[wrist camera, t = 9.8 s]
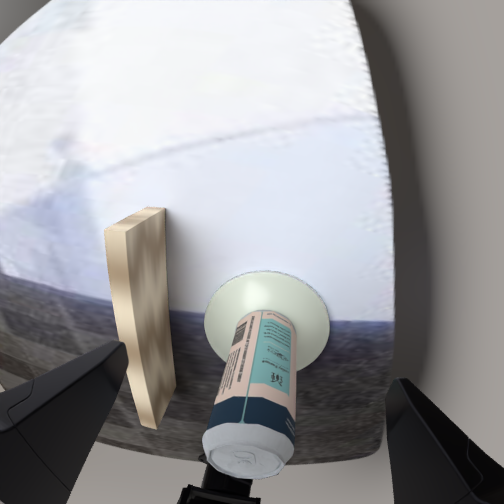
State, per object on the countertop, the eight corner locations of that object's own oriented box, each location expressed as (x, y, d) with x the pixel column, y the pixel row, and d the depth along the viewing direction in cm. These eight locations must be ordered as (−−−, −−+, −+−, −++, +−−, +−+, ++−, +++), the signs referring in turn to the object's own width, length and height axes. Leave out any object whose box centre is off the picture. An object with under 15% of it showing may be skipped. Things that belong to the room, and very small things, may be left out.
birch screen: (176, 385, 28) (156, 429, 22) (162, 382, 28) (141, 425, 22) (165, 208, 21) (125, 231, 16) (146, 206, 22) (103, 229, 16)
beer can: (239, 354, 25) (207, 478, 13) (232, 306, 23) (187, 434, 12) (296, 354, 24) (293, 483, 13) (295, 305, 22) (293, 441, 11)
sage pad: (274, 387, 26) (273, 391, 26) (184, 329, 25) (182, 333, 24) (354, 320, 23) (355, 324, 22) (255, 243, 22) (255, 246, 21)
